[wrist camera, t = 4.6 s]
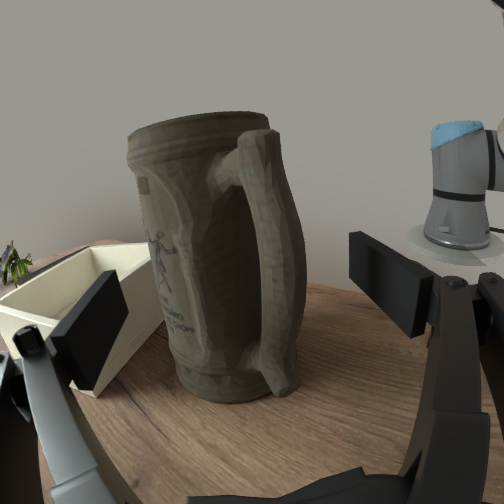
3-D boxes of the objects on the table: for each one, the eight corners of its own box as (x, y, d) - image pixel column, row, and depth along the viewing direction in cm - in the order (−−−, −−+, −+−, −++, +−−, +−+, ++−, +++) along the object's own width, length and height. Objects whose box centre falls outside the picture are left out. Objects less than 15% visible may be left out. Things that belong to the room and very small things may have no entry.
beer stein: (156, 353, 26) (106, 139, 18) (243, 312, 32) (223, 124, 24) (253, 467, 14) (197, 86, 7) (357, 383, 20) (380, 107, 13)
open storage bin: (189, 292, 39) (177, 240, 36) (96, 398, 20) (59, 328, 17) (102, 288, 43) (90, 246, 41) (13, 358, 24) (-12, 306, 22)
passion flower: (13, 302, 53) (-7, 267, 52) (41, 280, 61) (20, 247, 60) (5, 288, 46) (-15, 249, 44) (38, 263, 53) (16, 227, 52)
